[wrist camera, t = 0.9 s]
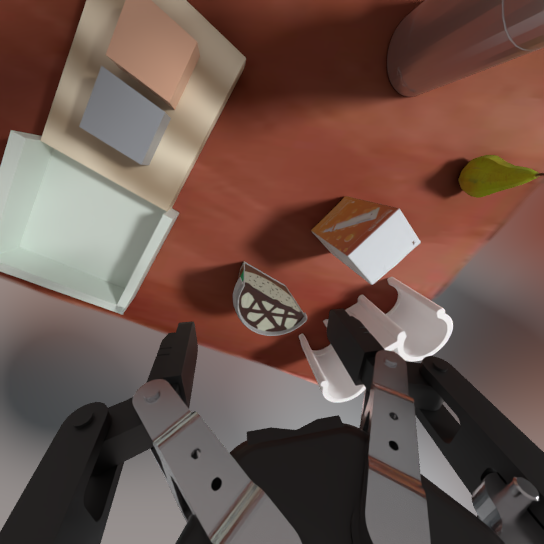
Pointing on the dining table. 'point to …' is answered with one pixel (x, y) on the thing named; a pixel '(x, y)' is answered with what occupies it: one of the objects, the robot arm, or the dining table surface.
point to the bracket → (383, 338)
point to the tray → (74, 226)
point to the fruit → (493, 176)
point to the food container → (265, 303)
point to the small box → (366, 236)
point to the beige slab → (184, 119)
